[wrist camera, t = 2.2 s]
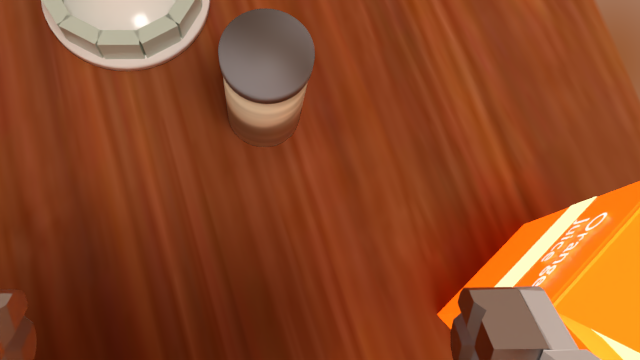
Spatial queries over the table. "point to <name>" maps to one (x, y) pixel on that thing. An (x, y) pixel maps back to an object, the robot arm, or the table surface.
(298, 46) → the spice jar
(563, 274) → the orange juice
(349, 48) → the table surface
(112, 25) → the ceramic dish
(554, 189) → the table surface
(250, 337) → the table surface
